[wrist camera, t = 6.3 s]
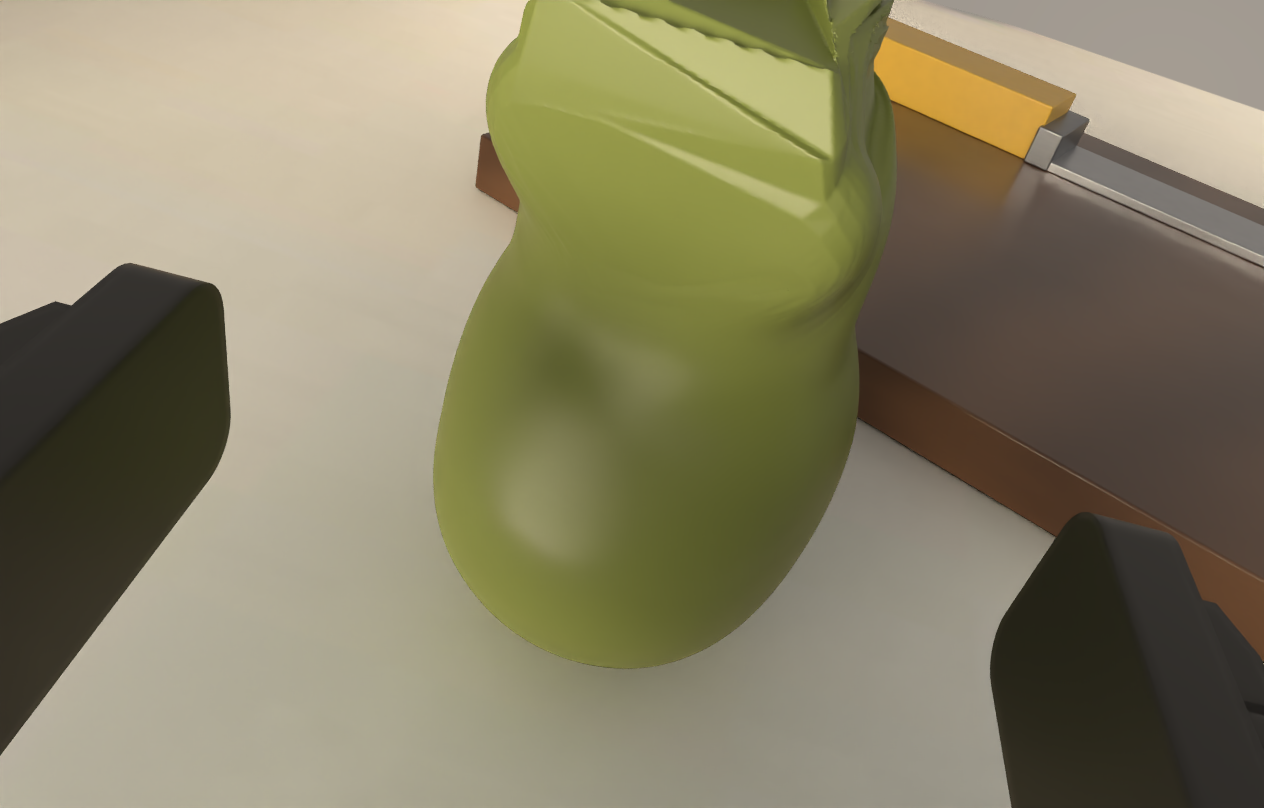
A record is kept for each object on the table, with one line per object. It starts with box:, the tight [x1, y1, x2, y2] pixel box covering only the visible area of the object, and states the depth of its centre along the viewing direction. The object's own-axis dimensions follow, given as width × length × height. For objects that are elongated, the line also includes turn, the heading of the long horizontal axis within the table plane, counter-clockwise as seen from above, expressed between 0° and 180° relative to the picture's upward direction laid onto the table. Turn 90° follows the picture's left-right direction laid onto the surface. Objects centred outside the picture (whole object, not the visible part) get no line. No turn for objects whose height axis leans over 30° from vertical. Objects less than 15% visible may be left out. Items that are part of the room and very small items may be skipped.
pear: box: [433, 0, 897, 669], centre depth 13 cm, size 6×5×10 cm
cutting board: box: [476, 100, 1264, 661], centre depth 27 cm, size 24×20×2 cm
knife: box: [874, 18, 1264, 267], centre depth 31 cm, size 22×3×2 cm, turn 51°
